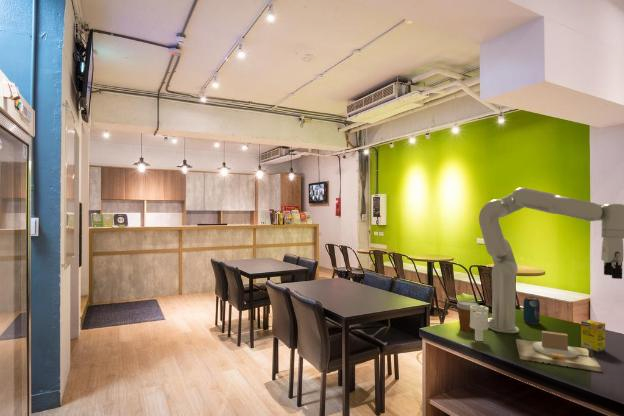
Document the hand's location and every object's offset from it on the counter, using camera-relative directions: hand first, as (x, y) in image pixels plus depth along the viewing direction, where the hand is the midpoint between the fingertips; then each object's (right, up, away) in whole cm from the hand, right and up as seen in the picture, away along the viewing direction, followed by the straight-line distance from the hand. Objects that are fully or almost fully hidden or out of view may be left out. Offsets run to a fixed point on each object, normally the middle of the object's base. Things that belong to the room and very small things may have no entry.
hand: (612, 276), depth 152 cm
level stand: (-31, -28, -11) cm, 43 cm away
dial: (-31, -26, -12) cm, 42 cm away
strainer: (-52, -28, +5) cm, 59 cm away
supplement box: (-11, -28, -4) cm, 31 cm away
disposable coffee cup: (-50, -28, +20) cm, 61 cm away
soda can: (-13, -29, +34) cm, 47 cm away
